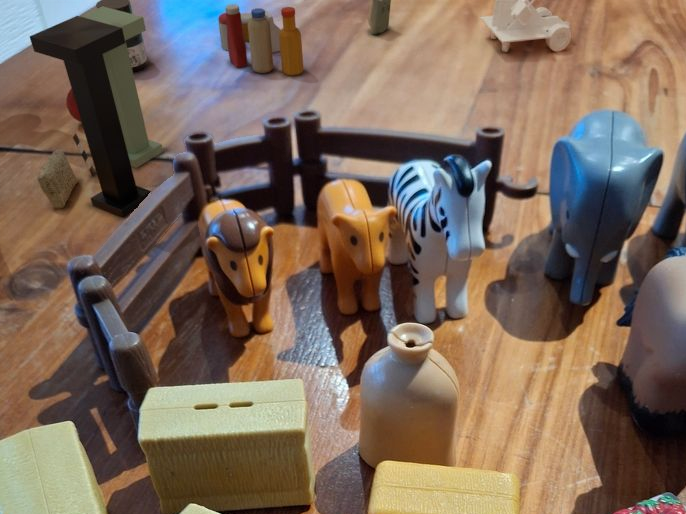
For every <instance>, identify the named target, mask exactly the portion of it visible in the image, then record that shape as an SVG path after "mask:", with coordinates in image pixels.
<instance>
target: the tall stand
mask: <svg viewBox="0 0 686 514" xmlns="http://www.w3.org/2000/svg"><path fill="white" fill-rule="evenodd" d="M80 16H81V15H75V16H73V17H72V18H69V19H66V20H63V21H61V22H59V23H57V24H55V25H53V26H50V27H48V28H46V29H43V30H41V31H39V32H37V33H34V34H32V35H29V40H30V43H31V46H32V49H33V52H34V53H38V54H41V55H44V56H47V57H50V58H54V59H56V60H57V59H58V60H60V61H63V64H64V66H65V71H66V75H67V78H68V81H69V84H70V87H71V88H72V91H73V95H74V98H75V102H76V105H77V108H78V112H79V115H80V118H81V122H80V123H81V125H82V128H83V132H84V135H85V138H86V142H87V145H88V149H89V152H90V156H91V159H92V162H93V167H94V170H95V174H96V176H97V179H98V183H99V186H100V190H101V191H99V192H98V193H96V194H95V195H93V196H92V197H90V202H91V204H92V207H94V208H97V209H99V210H101V211H105V212H107V213H110V214H112V215H115V216H117V217H120V218H122V219H123V218H126V217H127V216H129V215H130V214H132V213H134V212H135V211H134V209H136V208H137V207H138V206H139V204H140V203H141V202H142V201H143V200H144V199H145V198H146V197H147V196H148V194H149V193H150V192H151V193H152V191H151V190H149V189H147V188H144V187H142V186H139V185H137V184H136V179H135V176H134V171H133V167H132V166H131V164H130V160H129V156H128V152H127V148H126V144H125V140H124V136H123V132H122V128H121V124H120V120H119V116H118V112H117V109H116V105H115V101H114V97H113V93H112V89H111V85H110V81H109V77H108V73H107V69H106V65H105V61H104V57H103V54H104V53H106V52H108V51H110V50H112V49H114V48H116V47H118V46H120V45H123V44H125V43H126V42H125V38H124V34H123V29H122V28H121V27H117V26H113V25H109V24H106V23H102V22H98V21H95V20H91V19H87V18H84V17H80ZM71 88H70V89H71ZM136 210H137V209H136Z"/></svg>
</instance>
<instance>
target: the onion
mask: <svg viewBox="0 0 686 514" xmlns="http://www.w3.org/2000/svg"><path fill="white" fill-rule="evenodd" d="M66 108H67V110H68V112H69V114H70V115H71V117H72V118H73V119H75V120H76V121H77V122H80V123H82V122H81V118H80V115H79V112H78V108H77V105H76V102H75V98H74V95H73V91H72V88H70V89H69V91H68V93H67V96H66Z"/></svg>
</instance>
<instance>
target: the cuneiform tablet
mask: <svg viewBox="0 0 686 514" xmlns="http://www.w3.org/2000/svg"><path fill="white" fill-rule="evenodd" d="M72 139H73V141H74V142H75V145H76V147H77V149H78V151H79V153H80V154H81V156H82V158H83V160H84V162H85V164H86V167H87V168H88V170H89V172H90V175H91V176H92V177H94V176H95V174H96V169H95V167H94V165H92V163H91V160H90V158H89V157H88V155H87V153H86V151H85V149H84V147H83V144H82V143H81V141H80V139H79V137H78V135H77V133H74V135H73V136H72ZM76 176H77V175H75V172H74V170H73V168H72V166H71V163H70V162H69V159H68V157H67V156H66V153H65V152H64V151H63V149H61V148H58V149H56V150H53V152H52V153H51V155H50V156H49V158H48V160H47V161H46V162H45V163H44V165H43V167H42V169H41V172H40V173H39V175H38V176H37V182H38V185H39V186H40V189H41V191H42V193H43V194H44V196H45V197H46V198H47V199H48V200H49V202H50V204H51V205H52V206H53V207H54V208H55V209H58V210H59V209H63V208H65V206H66V203H67V201H68V200H69V198H70V197H71V194H72V191H73V189H74V188H75V186H76V184H77V183H78V178H77V177H76Z"/></svg>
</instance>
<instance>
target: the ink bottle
mask: <svg viewBox="0 0 686 514" xmlns="http://www.w3.org/2000/svg"><path fill="white" fill-rule="evenodd" d="M102 6H103V7H107V8H111V9H115V10H118V11H122V12H126V13H130V14H134V13H133V9H132V4H131V1H130V0H99V1H97V2H96V4H95V7H96V9H98V8H100V7H102ZM126 45H127V49H128V54H129V58H130V62H131V67H132V71H133V73H135V72H138V71H141V70H144V68H146V67H147V65H148V61H149V60H148V55H147V51H146V47H145V42H144V38H143V32H142V33H140V34H138V35H135V36H133V37H131V38H129V39H127V40H126Z"/></svg>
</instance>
